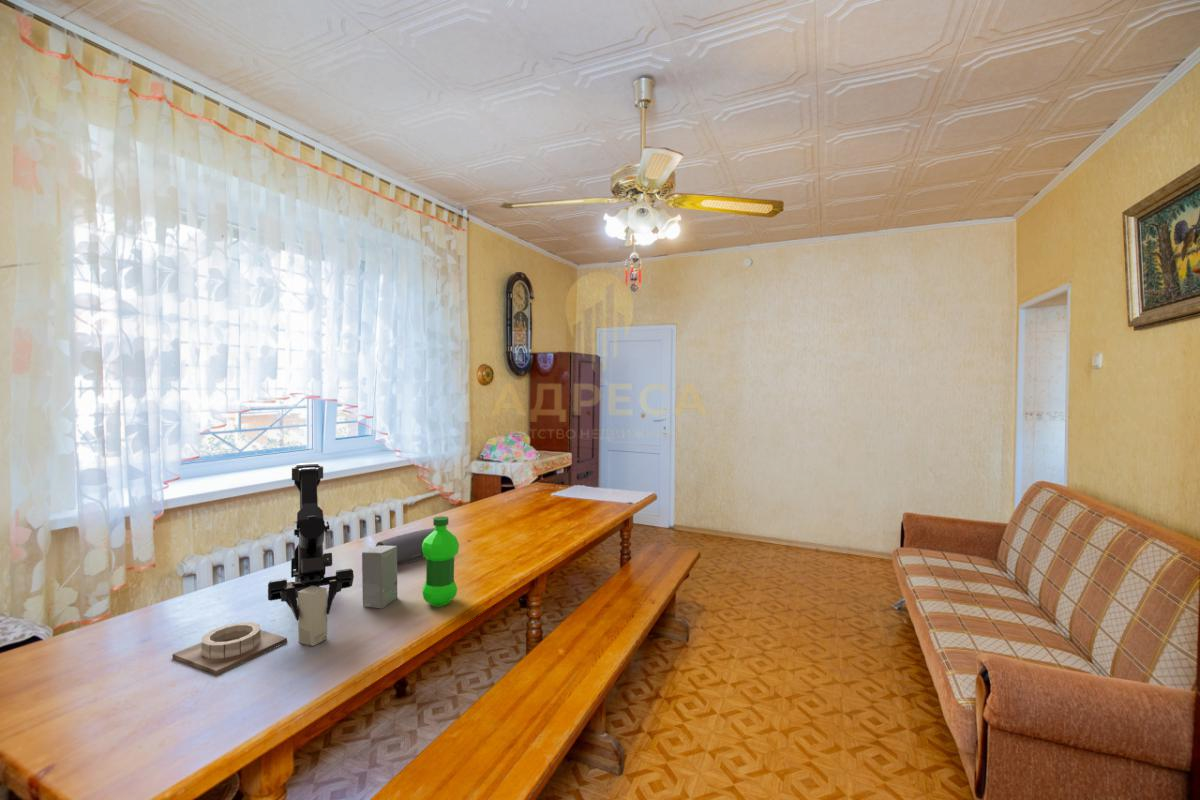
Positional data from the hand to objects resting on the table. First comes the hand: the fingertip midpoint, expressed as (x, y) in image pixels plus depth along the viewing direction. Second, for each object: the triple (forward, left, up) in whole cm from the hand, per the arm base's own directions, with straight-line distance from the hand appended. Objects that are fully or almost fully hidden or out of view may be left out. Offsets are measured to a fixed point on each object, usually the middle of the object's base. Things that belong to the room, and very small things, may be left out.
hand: (313, 616), depth 124 cm
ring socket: (-14, -10, -7) cm, 19 cm away
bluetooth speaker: (-22, +56, -7) cm, 60 cm away
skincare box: (-4, +25, -7) cm, 26 cm away
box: (-1, +1, -7) cm, 7 cm away
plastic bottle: (+12, +32, -7) cm, 35 cm away
